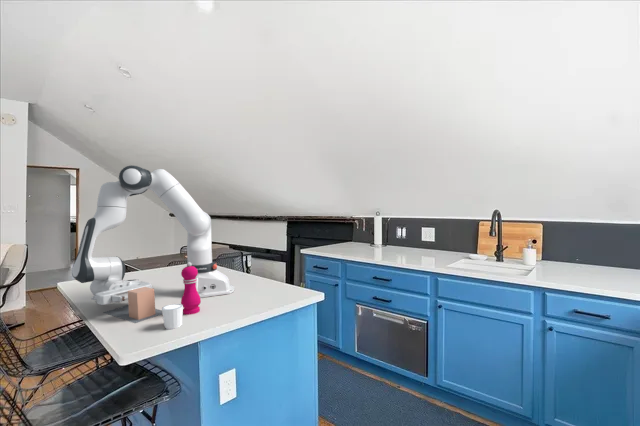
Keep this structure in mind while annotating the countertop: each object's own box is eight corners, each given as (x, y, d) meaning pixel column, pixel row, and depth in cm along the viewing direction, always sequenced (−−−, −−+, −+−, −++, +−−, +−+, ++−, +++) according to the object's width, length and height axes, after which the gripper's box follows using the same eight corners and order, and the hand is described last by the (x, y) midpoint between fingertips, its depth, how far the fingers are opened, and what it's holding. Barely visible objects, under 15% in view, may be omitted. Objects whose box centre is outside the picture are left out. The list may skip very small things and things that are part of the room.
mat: (102, 313, 134) (102, 312, 134) (135, 304, 144) (135, 303, 144) (135, 324, 121) (135, 323, 121) (168, 313, 131) (168, 312, 131)
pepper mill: (189, 317, 126) (186, 264, 125) (177, 314, 130) (175, 263, 129) (205, 311, 132) (202, 261, 131) (193, 308, 136) (191, 260, 135)
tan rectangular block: (146, 311, 133) (144, 286, 133) (155, 314, 129) (154, 288, 129) (129, 316, 127) (127, 290, 127) (138, 319, 124) (137, 293, 123)
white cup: (167, 323, 121) (166, 304, 121) (186, 322, 121) (185, 303, 121) (159, 330, 114) (158, 310, 114) (180, 329, 115) (179, 309, 114)
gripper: (88, 289, 129) (106, 294, 122) (140, 278, 146) (159, 281, 139) (89, 305, 129) (107, 311, 122) (141, 292, 146) (159, 296, 139)
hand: (135, 295), depth 130 cm, fingers open, 8 cm apart
